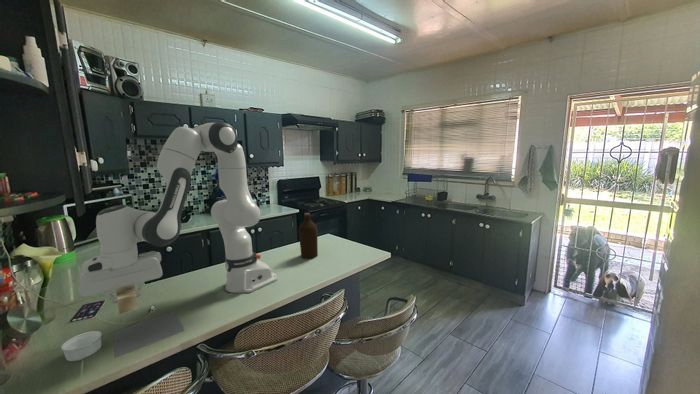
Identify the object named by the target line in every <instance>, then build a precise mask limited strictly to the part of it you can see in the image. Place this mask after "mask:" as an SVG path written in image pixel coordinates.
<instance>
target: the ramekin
mask: <svg viewBox="0 0 700 394" xmlns="http://www.w3.org/2000/svg"><path fill="white" fill-rule="evenodd" d="M101 347H102V332H101V331H97V330H92V331H87V332H83V333H81V334H78V335H75V336H73V337H71V338H69V339H67V340H66V341H64V343H62V345H61V350H62V352H63V355H64V358H65V359H66V361H67V362H78V361H81V360H84V359H85V358H87V357H89V356H91V355H93V354H95V353H96V352H98V351H99V350H100V349H101Z"/></svg>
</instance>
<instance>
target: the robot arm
mask: <svg viewBox="0 0 700 394" xmlns="http://www.w3.org/2000/svg"><path fill="white" fill-rule="evenodd" d="M243 149H244V148H243V146H242V145H241V144H240V143H239V140H238V135H237V132H236V130H235V128H234V127H233V126H232V125H230V124H229V123H227V122H222V121H218V122H217V121H216V122H206V123H203V124H200V125H195V126H193V127H187V126H178V127H176V128H175V129H173V131H172V132H171V133H170V135H169V137H168V138H167V139H166V141H165V143H164V145H163V147H162V149H161V151H160V153H159V155H158V158H157V163H156V169H157V172H158V173H159V174H160V176H162V177H163V179H164V180H165V183H166V185H165V186H166V187H165V191H164V193H163V196H162V199H161V202H160V205H159V208H158V210H157V211H155V212H154V211H148V210H141V209H138V208H137V209H136V208H133V207H131V206H129V205H127V204H118V205H113V206H109V207H106V208H104V209H101V210H100V211H98V213H97V215H96V218H95V225H96V226H95V227H96V228H95V229H96V237H97V239H98V241H99V243H100V244H99V245H100V249H99V255H96V256H93V257H91V258H89V259H87V260H85V261H84V262H82V265H81V271H82V272H81V275H80V277H79V278H80V279H79V294H80V296H81V297H84V298H87V297H90V296H91V297H92V296H94V295H100V294H103V293H105V296H106V297H107V298H109V299H110V300H111V304H118V302H117V294H116V295H113V294H112V291H114V290H116V289H119V288H122V287H126V286H130V285H134V286H135V285H137V284H138V289H135V292H136V297H137V298H138V297H141V296H142V291H143V288H144V286H145V283H146V282H149V281H153V280H156V279H160V278H161V277H162V276H163V269H162V265H161V261H162V254H161V253H160V252H158V251H155V250H152V251H148V252H142V253H139V252H138V245H137V243H139V242H141V241H142V242H143V241H144V242H147V243H149V244H150V245H152V246H154V247H165V246H169V245H170V244H172V243H174V242H175V241H176V240H177V239H178V238H179V236H180V234H181V230H182V220H181V219H182V213H183V210H184V207H185V203H186V200H187V196H188V193H189V190H190V187H191V181H192V174H193V170H194V167H195V165H196V163H197V160H198V157H199V155H200V154H201V152H202V153H207V152H208V153H214V154H215V156H216V157H217V170H218V171H217V172H218V184H219V189H220V190H221V192H223V194H224V196H225V198H226V199H222V200H218V201H216V202H215V203H213V205H212V206H211V209H210V215H211V217H212V219H213V220H214V221H215V222H216V224H217V226H218V228H219V231H220V233H221V236H222V240H223V243H224V251H225V257H224V261H225V262H224V264H225V270H226V282H225V286H224V287H225V288H224V289H225V291H226V292H228V293H233V294H235V293H252V292H255V291H257V290H259V289H261V288H263V287H265V286H267V285H270V284H272V283H274V282H275V281H276V282H277V280H278V275H277V274H276V273H274V272H273V271H272V269H271V267H270V265H268V264H267V263H265V262H263V261H261V260H260V259H261V258H262V255H261V254H259V253H256V252H254V251H253V244H252V237H251V235H250V233H249V232H248V231H247V229H246V228H250V227H253V226H255V225H257V224H258V223H259V222H260V219H261V216H262V214H261V213H262V212H261V209H260V207H259V206H258V205H257V204H256V203H255V201H254V200H253V198H252V194H251V192H250V189H249V185H248V177H247V176H248V175H247V174H248V173H247V163H246V156H245V153H244V150H243Z"/></svg>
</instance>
